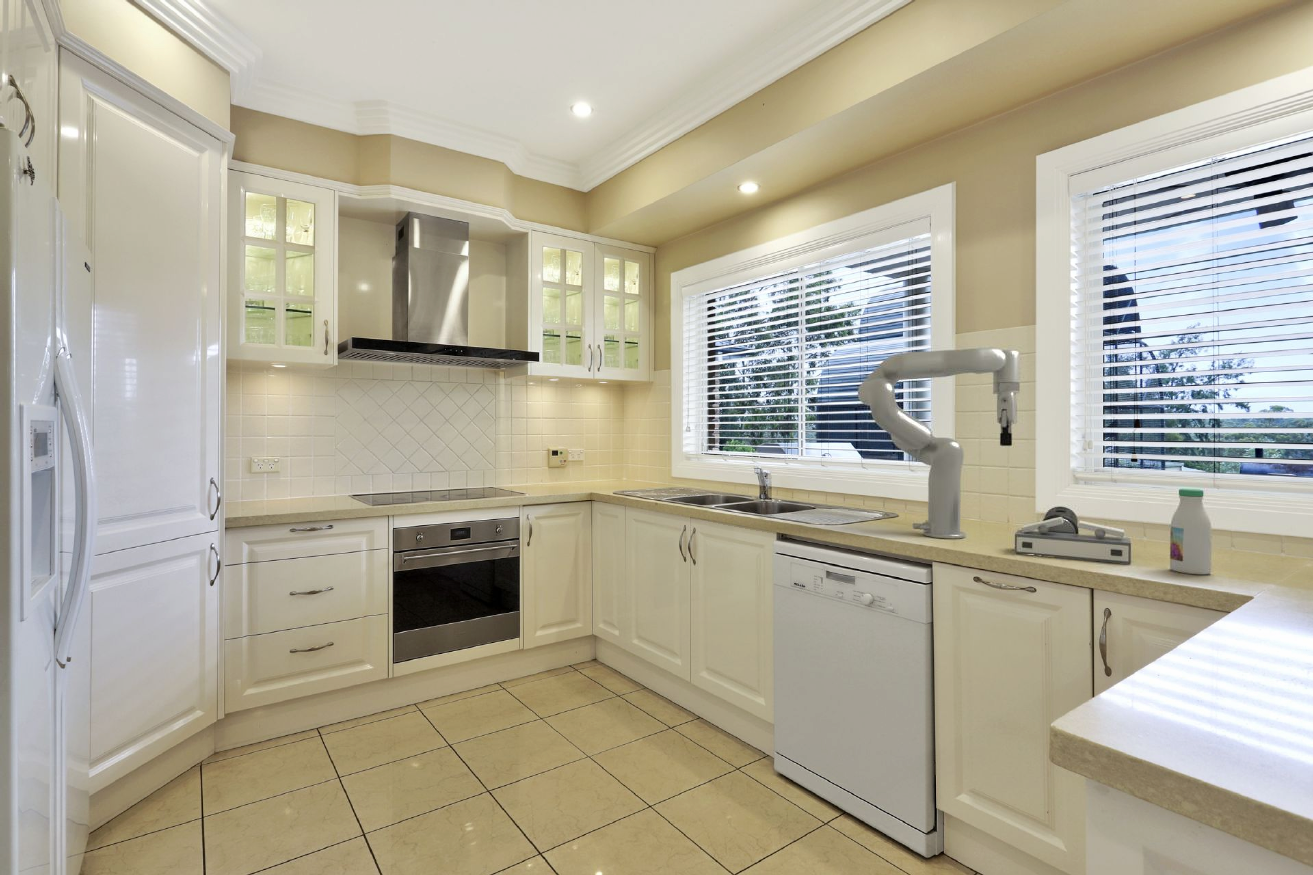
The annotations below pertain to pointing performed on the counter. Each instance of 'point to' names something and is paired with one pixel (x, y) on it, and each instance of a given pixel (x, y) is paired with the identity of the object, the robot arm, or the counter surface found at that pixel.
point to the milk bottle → (1190, 535)
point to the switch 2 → (1101, 529)
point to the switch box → (1074, 546)
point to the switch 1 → (1042, 525)
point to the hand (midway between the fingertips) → (1005, 445)
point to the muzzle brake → (1068, 517)
